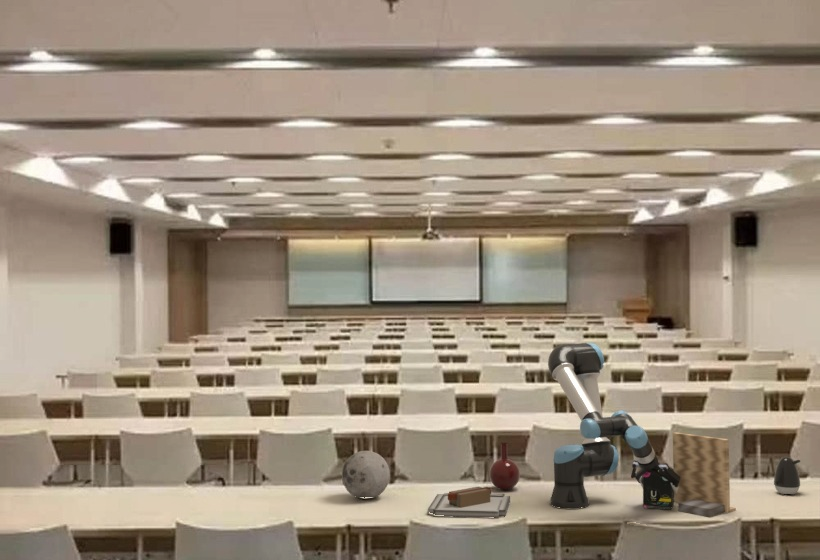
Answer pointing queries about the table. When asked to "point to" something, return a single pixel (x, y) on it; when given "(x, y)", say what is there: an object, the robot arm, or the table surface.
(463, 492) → the grey tray with block
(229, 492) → the table surface
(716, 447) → the board
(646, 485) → the tampon box
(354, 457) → the moon model
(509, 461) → the round-bottom flask
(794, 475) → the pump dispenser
